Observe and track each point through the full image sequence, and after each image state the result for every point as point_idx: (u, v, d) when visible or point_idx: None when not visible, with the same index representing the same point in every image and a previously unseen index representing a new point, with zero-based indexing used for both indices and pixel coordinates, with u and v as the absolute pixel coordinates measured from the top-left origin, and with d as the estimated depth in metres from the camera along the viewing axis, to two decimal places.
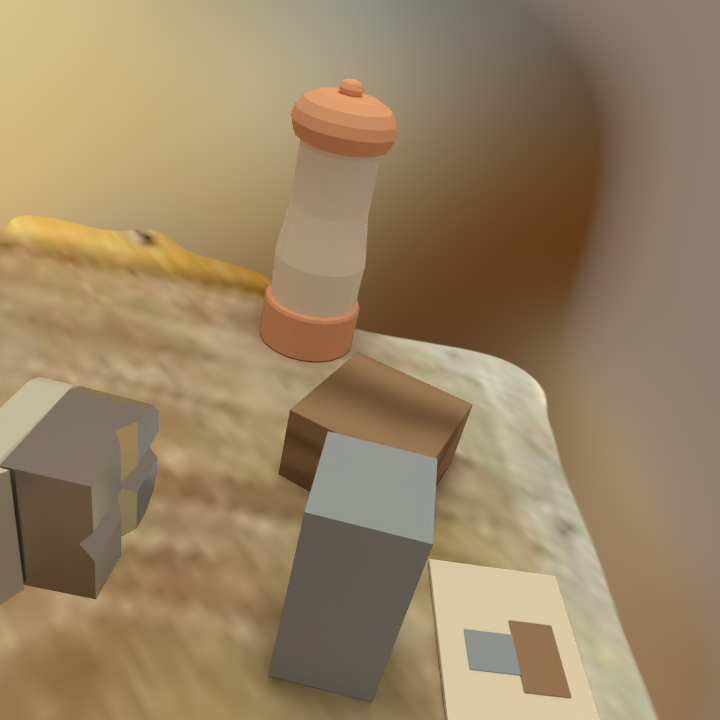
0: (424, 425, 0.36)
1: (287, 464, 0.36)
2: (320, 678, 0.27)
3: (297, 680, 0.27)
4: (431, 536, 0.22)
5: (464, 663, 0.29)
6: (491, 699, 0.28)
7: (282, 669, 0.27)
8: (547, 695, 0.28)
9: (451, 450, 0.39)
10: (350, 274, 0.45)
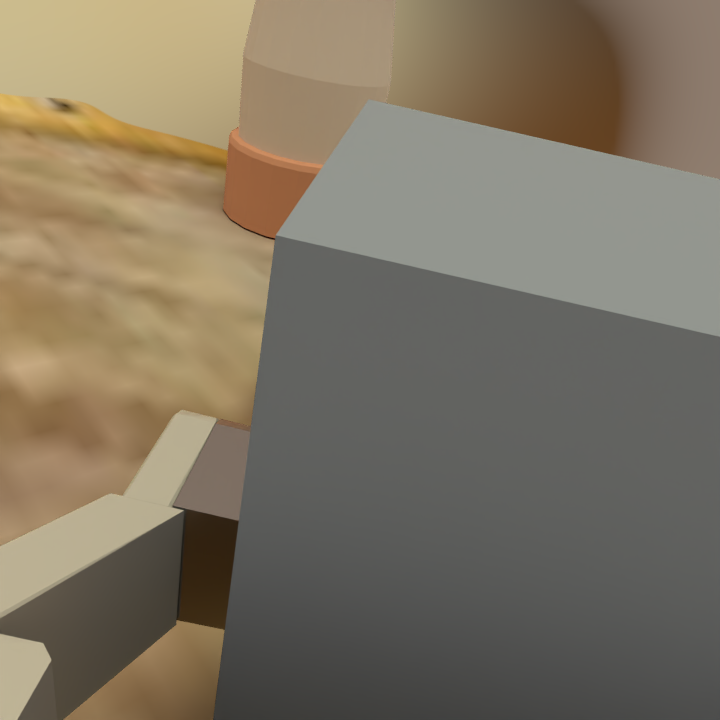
0: None
1: None
2: None
3: None
4: None
5: None
6: None
7: None
8: None
9: None
10: (368, 85, 0.27)
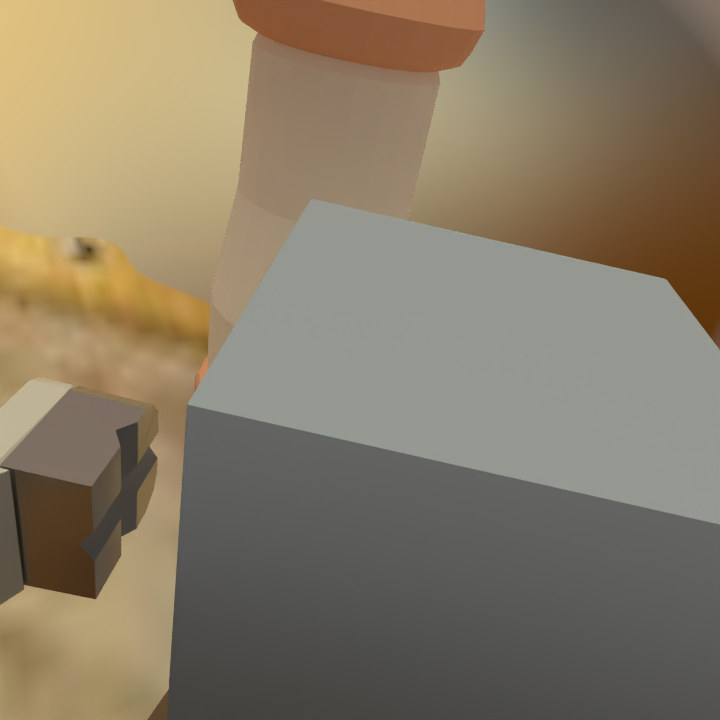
0: None
1: None
2: None
3: None
4: None
5: None
6: None
7: None
8: None
9: None
10: None
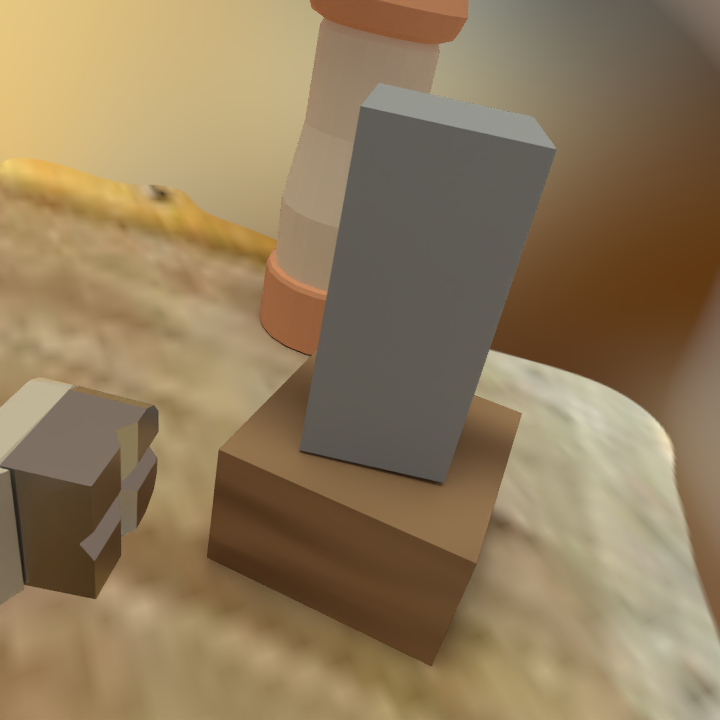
0: (457, 457, 0.21)
1: (221, 542, 0.21)
2: (373, 445, 0.19)
3: (340, 453, 0.19)
4: (551, 145, 0.15)
5: None
6: None
7: (319, 435, 0.19)
8: None
9: None
10: None
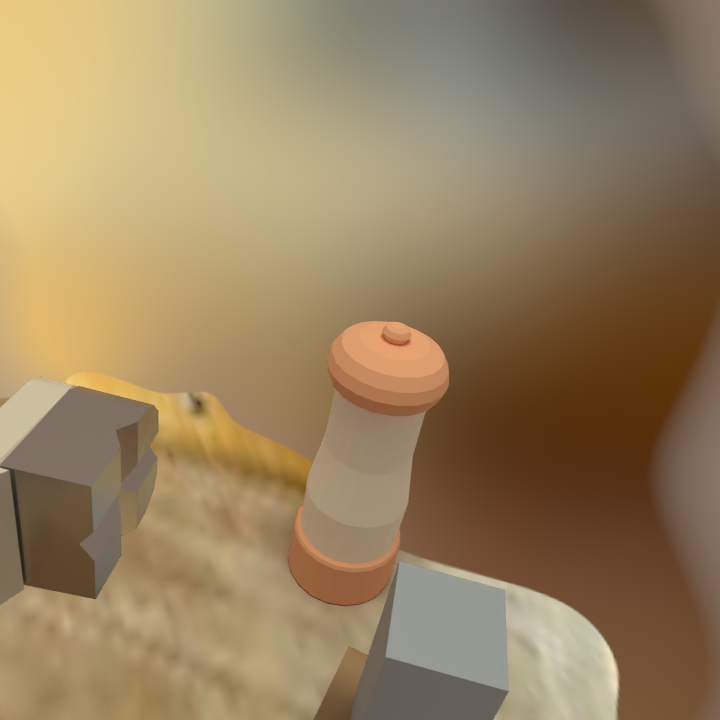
0: None
1: None
2: None
3: None
4: (506, 682, 0.23)
5: None
6: None
7: None
8: None
9: None
10: (386, 523, 0.39)
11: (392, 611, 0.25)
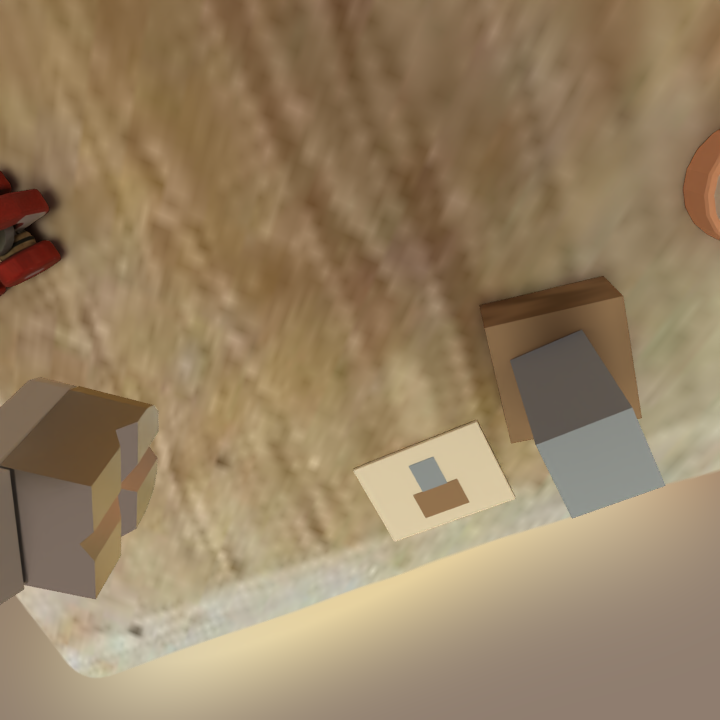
0: None
1: None
2: None
3: None
4: (578, 515, 0.31)
5: (410, 462, 0.47)
6: (398, 480, 0.48)
7: None
8: (419, 506, 0.48)
9: None
10: None
11: (577, 428, 0.29)
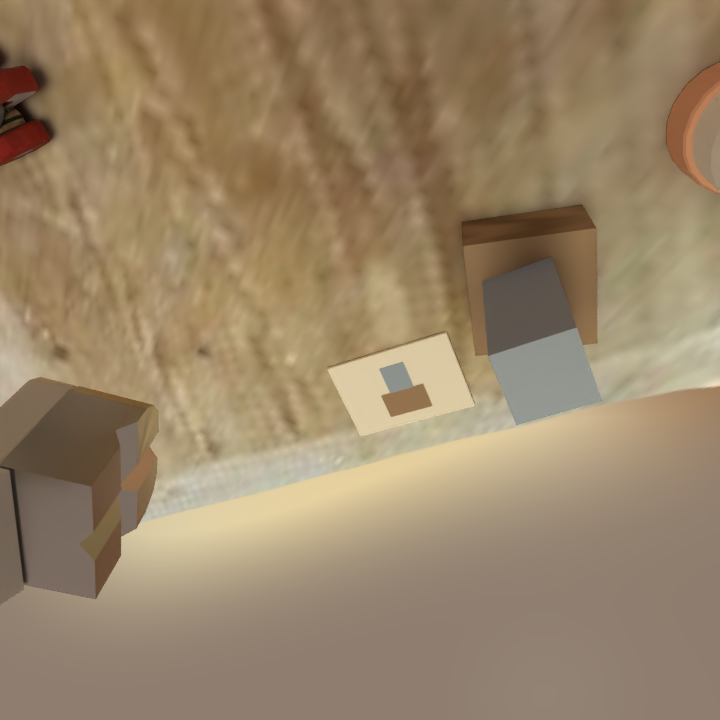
0: None
1: None
2: None
3: None
4: (522, 422, 0.34)
5: (381, 365, 0.50)
6: (368, 381, 0.51)
7: None
8: (385, 406, 0.52)
9: None
10: None
11: (526, 343, 0.32)
